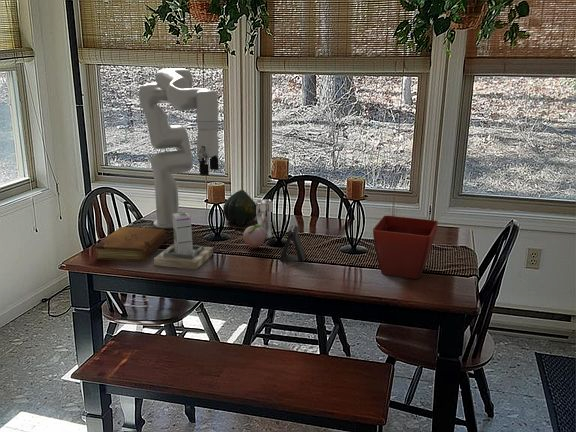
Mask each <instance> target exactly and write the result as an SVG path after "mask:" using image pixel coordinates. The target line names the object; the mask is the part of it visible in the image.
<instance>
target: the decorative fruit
mask: <svg viewBox="0 0 576 432" xmlns="http://www.w3.org/2000/svg"><path fill="white" fill-rule="evenodd" d="M261 226H262V225H260V224H256V223H254V224H253V225H250V226H248V227H246V228H245V229H244V231H243V235H242V238H243V240H244V242H245V244H246V245H247V246H248V247H250V248H252V249H257V248H259V247H260V246H261V245H262V244H263V243H264V242H265V240H266V239H265V237H266V232H265V230H264V229H263V228H262V227H261Z"/></svg>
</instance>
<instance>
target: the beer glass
mask: <svg viewBox="0 0 576 432" xmlns="http://www.w3.org/2000/svg"><path fill="white" fill-rule="evenodd" d="M255 204H256V217H255V219H256V223H257V224H260V225H262V226H261V227H262V228H263V229H264V230H265V232H266V237H265V240H270V239H272V238H273V235H272V233H273V232H272V224H273V223H272V222H273V221H272V222H271V212H272V220H273V217H274V206H273V205H274V203H273V200H271V199H266V198H265V199H263V198H262V199H257V200H256V201H255Z"/></svg>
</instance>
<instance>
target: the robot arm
mask: <svg viewBox="0 0 576 432" xmlns="http://www.w3.org/2000/svg"><path fill="white" fill-rule="evenodd" d="M193 77H194V76H193V75H192V73H191V72H190V70H188V69H186V68H164V69H161V70H159V71H158V72H157V73H156V75H155V82H149V83H145V84H143V85H141V86H140V88H139V91H138V100H139V104H140V107H141V110H142V111H143V113H144V115H145V119H146V122H147V123H146V124H147V129H148V134H149V140H150V143H151V146H152V147H153V149H156V150H164V149H165V150H166V149H176V150H170V151H161V152H157V153H155V154H154V155H153V156H152V157H151V158H150V165H151V169H152V173H153V178H154V179H153V180H154V192H155V206H156V207H155V210H156V220H154V221H153V226H154V227H155V228H157V229H173V216H172V214H176V213H183V212H182V210H180V209H179V207H180V203H179V186H178V183H177V180H175V178H174V177H173V176H172V175H175V174H181V173H182V174H183V173H188V172H190V171H191V170H192V168H193V164H194V163H193V162H194V161H193V154H192V149H191V142H190V139H189V134H188V131H187V129H186V128H185V127H184V126H183V125H181V124H180V125H179V124H174V125H173V124H172V125H171V124H169V121H168V115H167V113H166V111H165V110H164V109H163V108H162V107H161V106H160V105H159V104H170V106H172V107H173V108H175V109H177V110H179V111H190V110H191V111H192V110H196V127H197V135H196V136H197V137H196V156H197V158H198V164H199V175H200V176H209V174H210V173H209V170H212V171H218V170H219V158H220V157H219V149H220V146H219V136H218V135H219V134H218V130H219V100H218V98H219V97H218V96H219V95H218V93H217V91H216V90H214V89H213V90H212V89H208V88H205V87H198V88H196V87H193V88H192V86H193V83H194V78H193ZM208 162H209V164H208Z"/></svg>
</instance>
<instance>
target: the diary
mask: <svg viewBox="0 0 576 432" xmlns="http://www.w3.org/2000/svg"><path fill="white" fill-rule="evenodd" d="M166 232H167V231H166V230H165V228H153V227H152V228H151V227H149V228H148V227H130V226H129V227H128V226H120V227H118V228H117V229H116V230H114V231H113V232H112V233H110V234H108V236H106V237H104V238H103V240H101V241H99V242H98V243H97V244H95V245H94V249H96V251H97V257H95V260H100V261H101V260H102V261H103V260H104V261H116V262H117V261H118V262H119V261H120V262H132V263H133V262H134V263H135V262H136V263H145V261H147V259H149V257H151V256H152V255H153V254H154V253H155V252H156V251H157V250H158V249H159V248H160V247H162V245H163V244H164V243H165V242H166V241H167V233H166Z"/></svg>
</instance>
